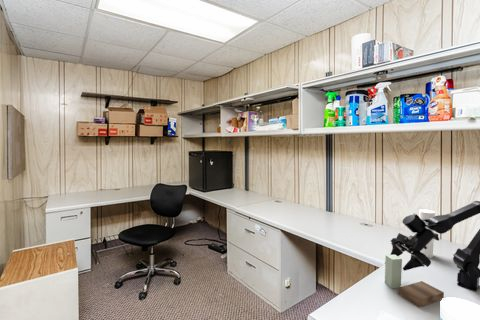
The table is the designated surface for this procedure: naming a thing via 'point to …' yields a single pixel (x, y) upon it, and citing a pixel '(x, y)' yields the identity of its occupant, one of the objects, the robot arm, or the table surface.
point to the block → (393, 271)
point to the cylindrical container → (426, 215)
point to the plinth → (420, 293)
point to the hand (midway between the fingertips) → (396, 264)
